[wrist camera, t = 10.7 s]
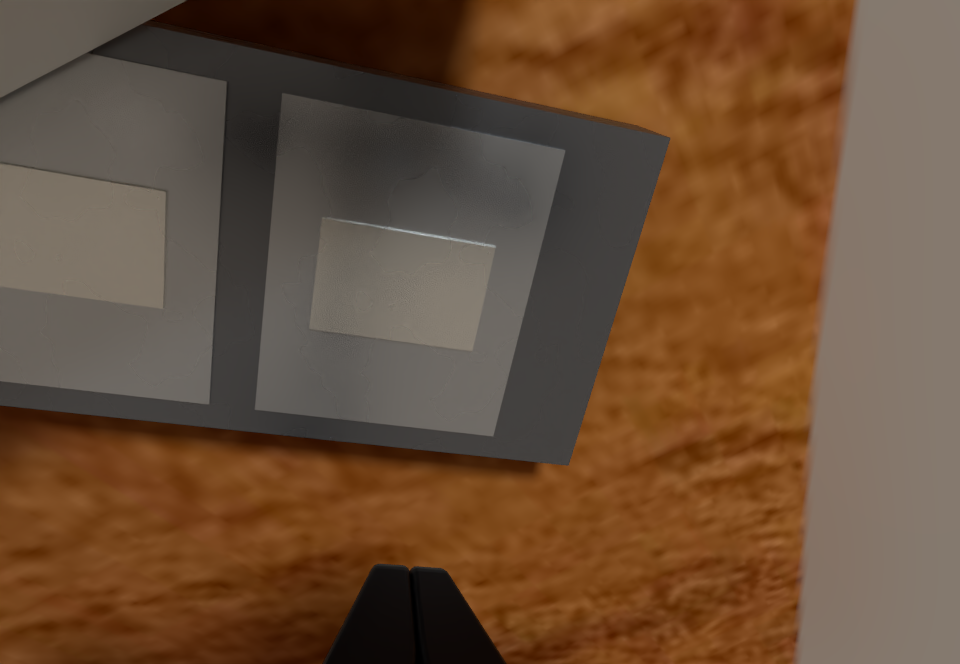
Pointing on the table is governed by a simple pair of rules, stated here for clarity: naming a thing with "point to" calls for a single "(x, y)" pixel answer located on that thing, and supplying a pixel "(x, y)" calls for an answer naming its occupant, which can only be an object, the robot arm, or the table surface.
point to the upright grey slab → (62, 32)
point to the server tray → (310, 248)
